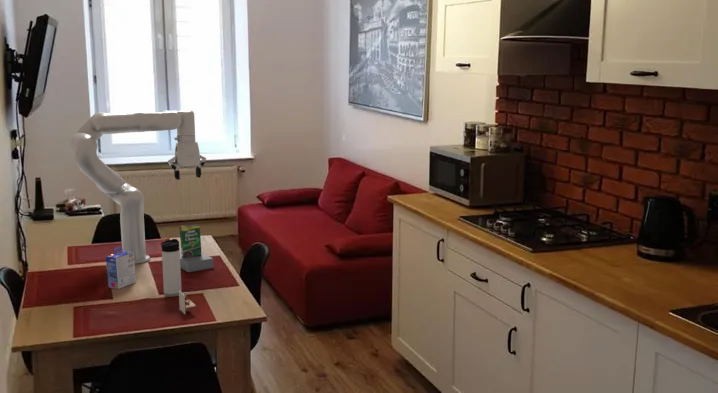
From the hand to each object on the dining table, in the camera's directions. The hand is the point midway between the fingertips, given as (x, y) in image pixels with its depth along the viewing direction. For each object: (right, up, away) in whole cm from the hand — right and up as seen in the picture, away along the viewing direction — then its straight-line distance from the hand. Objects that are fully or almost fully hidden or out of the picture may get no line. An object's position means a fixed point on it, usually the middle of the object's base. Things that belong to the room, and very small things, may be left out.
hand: (188, 178), depth 317 cm
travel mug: (+6, -44, -51) cm, 67 cm away
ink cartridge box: (-16, -42, -40) cm, 60 cm away
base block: (+5, -37, -14) cm, 40 cm away
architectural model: (+15, -48, -69) cm, 85 cm away
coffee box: (+5, -33, -15) cm, 37 cm away
